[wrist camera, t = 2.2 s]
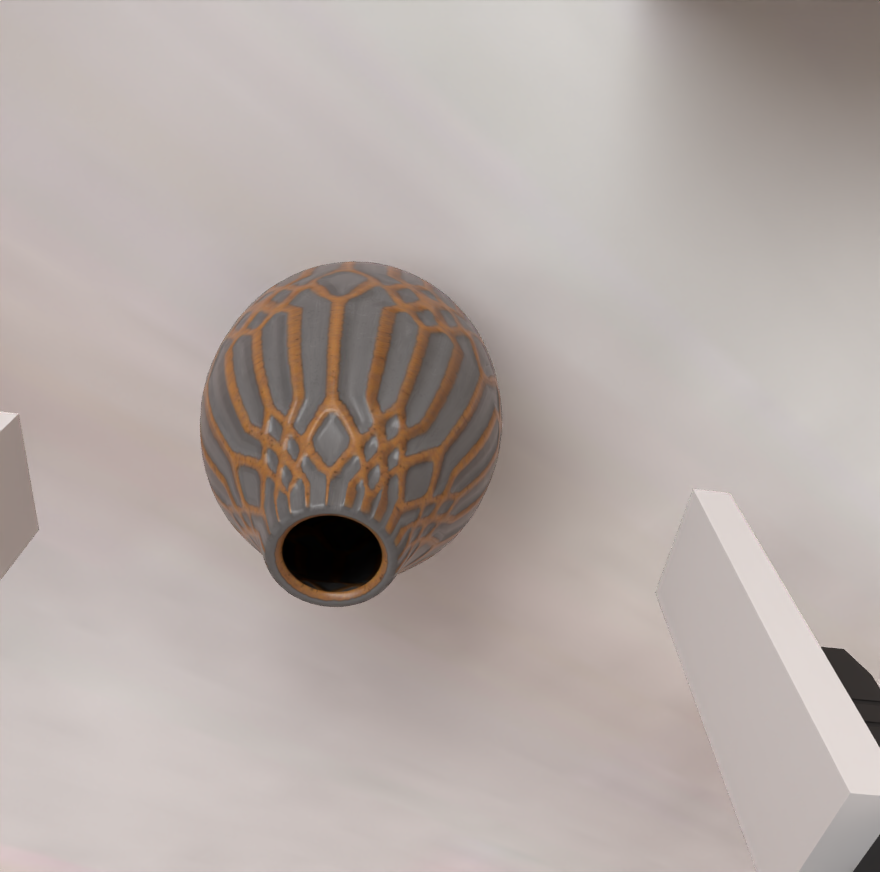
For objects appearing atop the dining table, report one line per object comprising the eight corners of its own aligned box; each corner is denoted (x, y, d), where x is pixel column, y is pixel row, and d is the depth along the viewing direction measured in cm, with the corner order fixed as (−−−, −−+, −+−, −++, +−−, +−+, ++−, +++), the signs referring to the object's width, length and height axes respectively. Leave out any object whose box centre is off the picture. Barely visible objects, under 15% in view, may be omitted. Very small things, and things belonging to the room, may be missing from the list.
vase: (532, 392, 21) (589, 608, 14) (333, 492, 23) (288, 734, 16) (407, 177, 18) (393, 307, 11) (187, 312, 20) (44, 505, 13)
